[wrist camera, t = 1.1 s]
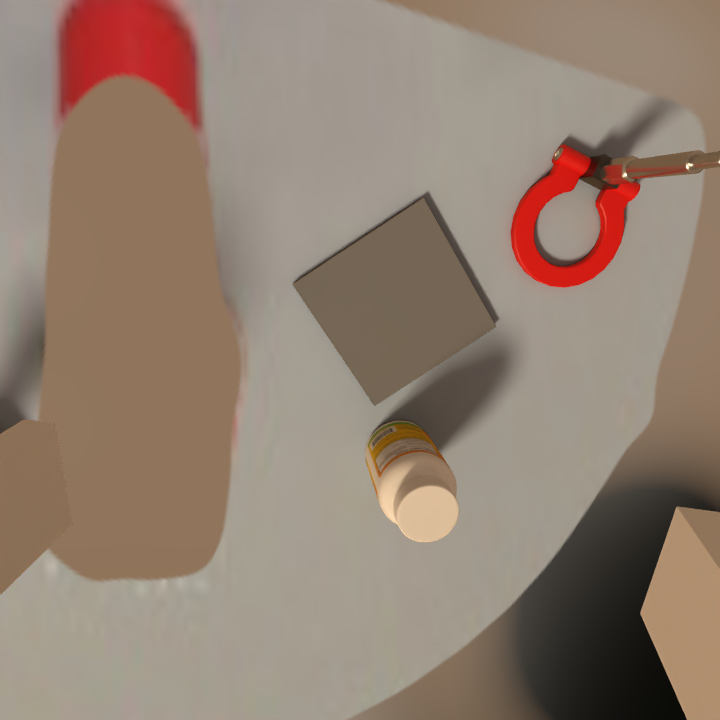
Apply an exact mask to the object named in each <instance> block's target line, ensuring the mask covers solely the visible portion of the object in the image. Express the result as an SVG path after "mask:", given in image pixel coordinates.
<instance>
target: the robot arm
mask: <svg viewBox="0 0 720 720" xmlns="http://www.w3.org/2000/svg"><path fill="white" fill-rule="evenodd" d="M71 525H72V518H71V511H70V506H69V500H68V494H67V489H66V482H65V477H64V472H63V465H62V460H61V453H60V448H59V442H58V436H57V430H56V425H55V423H48V422H40V421H33V420H25V419H24V420H22V421H20V422H19V423H17V424H16V425H14V426H12V427H11V428H9V429H7V430H6V431H4V432H2V433H1V434H0V595H1V594H2V593H3V592H4V591H5V590H6V589H7V588H8V587H9V586H10V585H11V584H12V583H13V582H14V581H15V580H16V579H17V578H18V577H19V576H20V575H21V574H22V573H23V572H24V571H25V570H26V569H27V568H28V567H29V566H30V565H31V564H32V563H33V562H34V561H35V560H36V559H37V558H39V557H40V556H41V555H42V554H43V553H44V552H45V551H46V550H47V549H48V548H49V547H50V546H51V545H52V544H53V543H54V542H55V541H56V540H57V539H58V538H59V537H60V536H61V535H62V534H63V533H64V532H65V531H66V530H67V529H68V528H69V527H70V526H71ZM641 616H642V618H643V620H644V623H645V625H646V627H647V630H648V632H649V634H650V636H651V638H652V641H653V643H654V645H655V648H656V650H657V652H658V654H659V657H660V659H661V661H662V663H663V666H664V668H665V670H666V672H667V675H668V677H669V679H670V682H671V684H672V686H673V688H674V691H675V693H676V695H677V697H678V700H679V702H680V704H681V707H682V709H683V711H684V713H685V716H686V718H687V720H720V513H719V512H714V511H706V510H698V509H690V508H683V507H677V508H676V510H675V514H674V516H673V519H672V522H671V525H670V528H669V531H668V534H667V537H666V540H665V543H664V546H663V549H662V551H661V554H660V557H659V561H658V563H657V566H656V570H655V572H654V575H653V578H652V581H651V584H650V587H649V590H648V592H647V595H646V598H645V601H644V604H643V607H642V610H641Z"/></svg>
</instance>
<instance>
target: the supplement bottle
mask: <svg viewBox="0 0 720 720" xmlns="http://www.w3.org/2000/svg"><path fill="white" fill-rule="evenodd" d="M365 458H366V463H367V467H368V470H369V473H370V476H371V479H372V482H373V485H374V488H375V491H376V494H377V497H378V501H379V503H380V506H381V508H382V510H383V512H384V513H385V515H386V516H387V517H388V518H389V519H390V520H391V521H393V522H394V523H396V524H397V525H398V526H399V528H400V530H401V531H402V532H403V533H404V534H405V535H406V536H407V537H408V538H410V539H412V540H414V541H418V542H432V541H435V540H438V539H440V538H442V537H444V536H445V535H447V534H448V533H449V532H450V531H451V530H452V528H453V527H454V525H455V524H456V522H457V519H458V515H459V506H458V502H457V499H456V490H457V487H456V480H455V477H454V474H453V472H452V471H451V469H450V467H449V466H448V464H447V463H446V461H445V460H444V458H443V457H442V455H441V454H440V452H439V451H438V449H437V448H436V446H435V445H434V443H433V442H432V440H431V439H430V437H429V436H428V435H427V433H426V432H425V431H424V430H423V429H422V428H421V427H419V426H418V425H416V424H414V423H412V422H408V421H401V420H400V421H392V422H389V423H386V424H384V425H382V426H381V427H379V428H378V429H377V430H376V431H375V432H374V433H373V434H372V435H371V437H370V438H369V440H368V442H367V445H366V450H365Z"/></svg>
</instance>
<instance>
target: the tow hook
mask: <svg viewBox="0 0 720 720" xmlns="http://www.w3.org/2000/svg"><path fill="white" fill-rule="evenodd" d="M552 163H553V164H554V166H553V168H552V170H551V172H550V174H549V175H548V176H546V177H544V178H542V179H541V180H539V181H538V182H537V183H536V184H535V185H533V186H532V187H531V188H530V189H529V190H528V191H527V193H526V194H525V195H524V197H523V198H522V199H521V201H520V202H519V205H518V207H517V209H516V212H515V214H514V216H513V222H512V228H511V241H512V248H513V251H514V254H515V257H516V260H517V262H518V263H519V264H520V266H521V267H522V269H523V270H524V271H525V272H526V273H527V274H528V275H529V276H531V277H532V278H533V279H534V280H536V281H539V282H541V283H544V284H546V285H549V286H555V287H570V286H575V285H580V284H582V283H584V282H586V281H588V280H591V279H593V278H594V277H595V276H596V275H598V274H599V273H600V272H601V271H603V270H604V269H605V268H606V266H607V265H608V264H609V263H610V261H611V260H612V259H613V258H614V256H615V254H616V252H617V250H618V248H619V246H620V244H621V240H622V236H623V231H624V209H625V207H626V205H627V203H628V202H629V201H631V200H632V199H634V198H635V197H636V195H637V194H638V192H639V190H640V184H639V183H637V182H635V181H636V180H637V179H641V178H652V177H664V176H675V175H687V174H696V173H699V172H701V171H702V170H703V169H708V168H717V167H720V151H719V152H712V153H704V152H702V151H699V150H697V151H690V152H683V153H676V154H669V155H662V156H656V157H649V158H642V159H639V158H637V157H635V156H629V157H622V158H617V159H612V158H610V157H608V156H606V155H600V156H594V157H587V156H586V155H584V154H582V153H580V152H578V151H576V150H574V149H572V148H570V147H568V146H566V145H565V144H563V145H561V146H560V147H559V148H558V149H557V151H556V152H555V154H554V156H553V159H552ZM579 179H580V180H582V181H584V182H586V183H588V184H590V185H592V186H594V187H596V188H598V189H600V190H601V192H600V194H599V196H598V198H597V200H596V207H597V209H598V212H599V215H600V222H601V229H600V234H599V238H598V240H597V242H596V244H595V247H594V248H593V249H592V251H591V252H590V253H589V254H588V255H587V256H586V257H585V258H584V259H582V260H581V261H579V262H577V263H575V264H573V265H569V266H564V267H561V266H555V265H552V264H550V263H548V262H547V261H546V260H545V259H543V258H542V256H541V255H540V253H539V252H538V250H537V248H536V245H535V242H534V228H535V222H536V219H537V217H538V215H539V213H540V211H541V210H542V208H543V207H544V206H545V204H546V203H547V202H549V201H550V200H551V199H552V198H553V197H555V196H557V195H559V194H561V193H564V192H569V191H572V190H573V189H574V188H575V186H576V184H577V182H578V180H579Z"/></svg>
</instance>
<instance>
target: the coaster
mask: <svg viewBox="0 0 720 720" xmlns="http://www.w3.org/2000/svg"><path fill="white" fill-rule="evenodd" d="M293 286H294V287H295V289H296V290H297V292H298V293H299V295H300V296H301V298H302V299H303V301H304V302H305V303H306V305H307V306H308V308H309V309H310V311H311V312H312V314H313V315H314V317H315V318H316V320H317V321H318V323H319V324H320V326H321V327H322V329H323V330H324V332H325V333H326V335H327V336H328V338H329V339H330V341H331V342H332V343H333V345H334V346H335V348H336V349H337V351H338V352H339V354H340V355H341V357H342V358H343V360H344V361H345V363H346V364H347V366H348V367H349V369H350V370H351V372H352V373H353V375H354V376H355V378H356V379H357V381H358V382H359V383H360V385H361V386H362V388H363V389H364V391H365V392H366V394H367V395H368V397H369V398H370V400H371V401H372V403H373V404H374V406H375V405H377V404H378V403H380V402H381V401H383V400H384V399H386V398H387V397H389V396H390V395H392V394H393V393H395V392H397V391H398V390H400V389H401V388H403V387H404V386H406V385H407V384H409V383H410V382H412V381H413V380H415V379H417V378H418V377H420V376H421V375H423V374H424V373H426V372H427V371H429V370H430V369H432V368H433V367H435V366H437V365H438V364H440V363H441V362H443V361H444V360H446V359H447V358H449V357H450V356H452V355H453V354H455V353H456V352H458V351H460V350H461V349H463V348H464V347H466V346H467V345H469V344H470V343H472V342H473V341H475V340H476V339H478V338H480V337H481V336H483V335H484V334H486V333H487V332H489V331H490V330H492V329H493V328H495V327H496V325H495V324H494V322H493V320H492V318H491V317H490V315H489V313H488V311H487V309H486V308H485V306H484V304H483V302H482V301H481V299H480V297H479V295H478V293H477V292H476V290H475V288H474V286H473V285H472V283H471V281H470V279H469V277H468V276H467V274H466V272H465V270H464V269H463V267H462V265H461V263H460V261H459V260H458V258H457V256H456V254H455V253H454V251H453V249H452V247H451V246H450V244H449V242H448V240H447V238H446V237H445V235H444V233H443V231H442V230H441V228H440V226H439V224H438V222H437V221H436V219H435V217H434V215H433V214H432V212H431V210H430V208H429V206H428V205H427V203H426V201H425V199H424V198H421V199H420V200H418V201H417V202H415V203H414V204H412V205H411V206H409V207H408V208H406V209H405V210H403V211H402V212H400V213H399V214H397V215H396V216H394V217H393V218H391V219H390V220H388V221H387V222H385V223H384V224H382V225H381V226H379V227H378V228H376V229H375V230H373V231H371V232H370V233H368V234H367V235H365V236H364V237H362V238H361V239H359V240H358V241H356V242H355V243H353V244H352V245H350V246H349V247H347V248H346V249H344V250H343V251H341V252H340V253H338V254H337V255H335V256H334V257H332V258H331V259H329V260H328V261H326V262H325V263H323V264H322V265H320V266H319V267H317V268H316V269H314V270H312V271H311V272H309V273H308V274H306V275H305V276H303V277H302V278H300V279H299V280H297V281H296V282H294V283H293Z"/></svg>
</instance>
